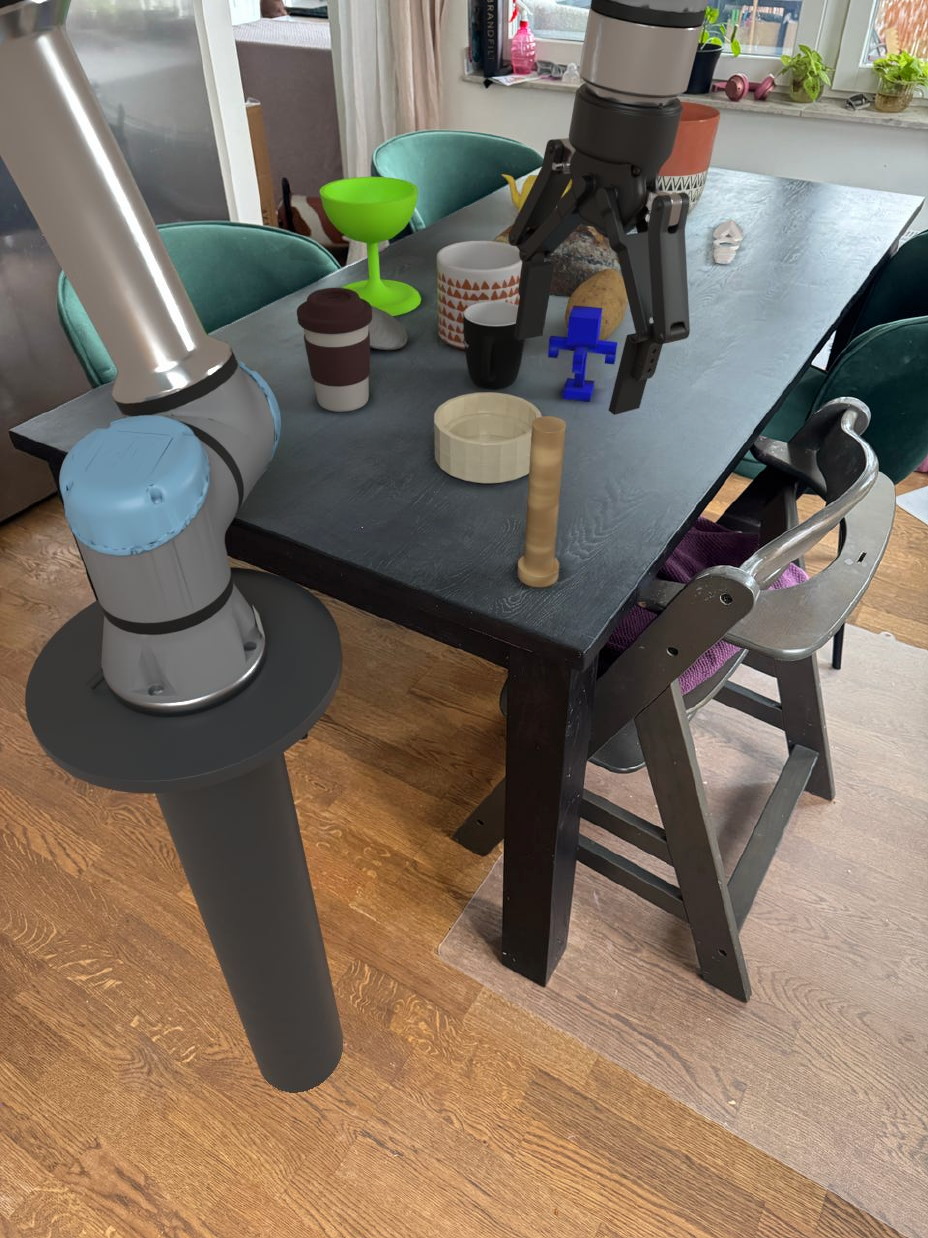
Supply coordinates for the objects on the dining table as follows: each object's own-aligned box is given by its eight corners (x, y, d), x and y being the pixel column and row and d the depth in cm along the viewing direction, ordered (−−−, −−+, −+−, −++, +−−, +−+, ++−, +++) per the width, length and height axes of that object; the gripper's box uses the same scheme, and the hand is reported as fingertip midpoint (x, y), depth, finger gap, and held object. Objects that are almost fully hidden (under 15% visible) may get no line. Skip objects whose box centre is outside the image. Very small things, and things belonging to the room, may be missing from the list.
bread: (507, 237, 177) (508, 184, 171) (663, 257, 169) (671, 202, 162) (458, 281, 158) (458, 224, 152) (632, 306, 149) (639, 246, 143)
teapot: (592, 224, 184) (596, 175, 177) (539, 236, 178) (541, 185, 172) (551, 207, 193) (554, 160, 187) (499, 218, 187) (500, 169, 181)
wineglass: (341, 322, 144) (330, 208, 132) (321, 289, 155) (310, 181, 143) (432, 311, 148) (430, 198, 136) (407, 279, 159) (402, 173, 147)
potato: (549, 349, 136) (553, 290, 130) (586, 315, 146) (592, 259, 140) (600, 360, 133) (607, 300, 127) (635, 325, 143) (642, 268, 137)
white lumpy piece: (706, 262, 166) (706, 258, 165) (717, 220, 186) (717, 216, 185) (737, 265, 164) (738, 261, 164) (745, 222, 185) (746, 218, 184)
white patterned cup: (429, 322, 144) (427, 243, 135) (508, 315, 146) (511, 236, 138) (449, 356, 134) (448, 273, 125) (532, 347, 136) (537, 265, 128)
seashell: (327, 343, 137) (363, 354, 131) (325, 306, 135) (362, 316, 128) (385, 336, 144) (422, 346, 138) (385, 300, 142) (423, 309, 135)
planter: (602, 234, 179) (614, 117, 165) (615, 207, 193) (627, 98, 179) (697, 242, 175) (718, 123, 161) (703, 215, 189) (722, 103, 175)
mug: (469, 364, 132) (469, 298, 125) (527, 369, 130) (530, 303, 124) (453, 400, 123) (452, 331, 116) (515, 406, 121) (518, 336, 115)
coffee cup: (350, 424, 117) (340, 316, 108) (294, 407, 121) (279, 301, 111) (391, 395, 124) (385, 291, 114) (336, 379, 128) (325, 277, 118)
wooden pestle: (536, 593, 90) (547, 440, 78) (509, 572, 93) (515, 422, 81) (566, 576, 92) (582, 425, 80) (539, 557, 95) (550, 408, 83)
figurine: (614, 398, 123) (625, 315, 116) (572, 410, 121) (580, 327, 113) (583, 377, 128) (591, 297, 120) (541, 389, 125) (547, 308, 117)
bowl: (479, 499, 103) (480, 455, 100) (414, 454, 111) (412, 412, 107) (560, 463, 110) (564, 421, 106) (493, 423, 118) (494, 382, 114)
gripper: (804, 142, 54) (704, 434, 69) (565, 44, 68) (525, 303, 83) (719, 150, 51) (634, 455, 65) (487, 46, 65) (460, 315, 79)
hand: (573, 371), depth 74 cm, fingers open, 13 cm apart
